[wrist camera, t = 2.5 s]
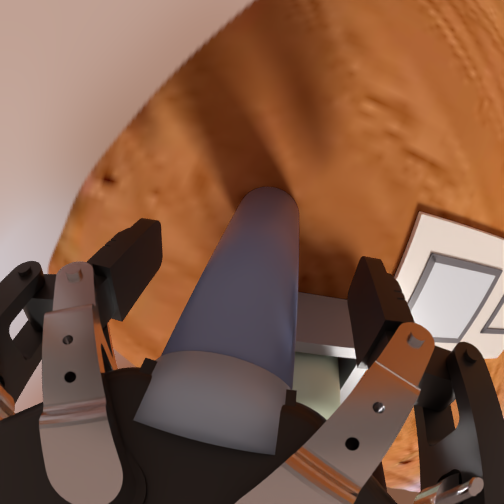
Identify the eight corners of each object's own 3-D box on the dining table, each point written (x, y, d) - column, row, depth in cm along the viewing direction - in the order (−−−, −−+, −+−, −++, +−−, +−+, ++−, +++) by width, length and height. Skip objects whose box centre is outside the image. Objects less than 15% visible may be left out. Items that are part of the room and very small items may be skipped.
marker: (306, 191, 14) (311, 448, 3) (294, 249, 15) (272, 486, 5) (239, 180, 14) (101, 396, 4) (233, 239, 16) (142, 455, 5)
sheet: (554, 258, 12) (557, 262, 11) (495, 355, 17) (497, 359, 17) (419, 211, 13) (422, 214, 13) (357, 350, 19) (358, 355, 18)
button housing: (367, 302, 16) (378, 350, 13) (334, 368, 20) (336, 411, 17) (257, 285, 17) (246, 332, 13) (246, 356, 21) (236, 399, 17)
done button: (347, 336, 15) (354, 401, 12) (325, 379, 18) (325, 435, 14) (271, 325, 16) (261, 391, 12) (260, 370, 18) (250, 427, 14)
